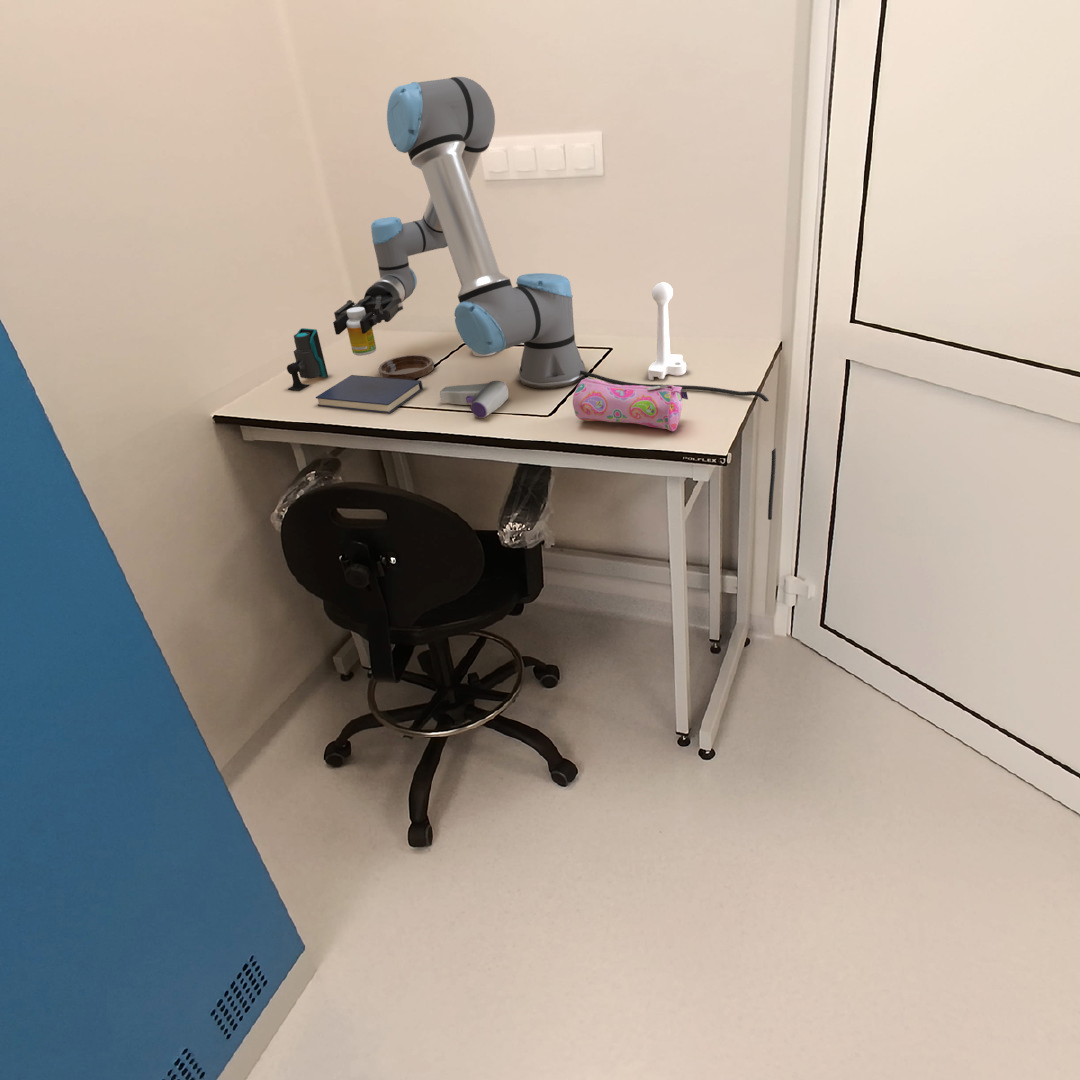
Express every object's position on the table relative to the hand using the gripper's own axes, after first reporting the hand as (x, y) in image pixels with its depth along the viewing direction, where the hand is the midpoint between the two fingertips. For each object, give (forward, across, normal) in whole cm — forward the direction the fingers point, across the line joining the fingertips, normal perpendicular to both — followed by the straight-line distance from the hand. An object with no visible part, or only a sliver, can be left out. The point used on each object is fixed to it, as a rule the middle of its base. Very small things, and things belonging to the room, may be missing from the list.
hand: (349, 327), depth 174 cm
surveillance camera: (-14, +21, -18) cm, 31 cm away
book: (-3, 0, -18) cm, 18 cm away
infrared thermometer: (+4, -25, -18) cm, 31 cm away
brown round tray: (-20, -3, -18) cm, 27 cm away
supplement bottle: (-5, 0, -8) cm, 9 cm away
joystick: (-14, -68, -18) cm, 72 cm away
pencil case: (+13, -61, -18) cm, 65 cm away
